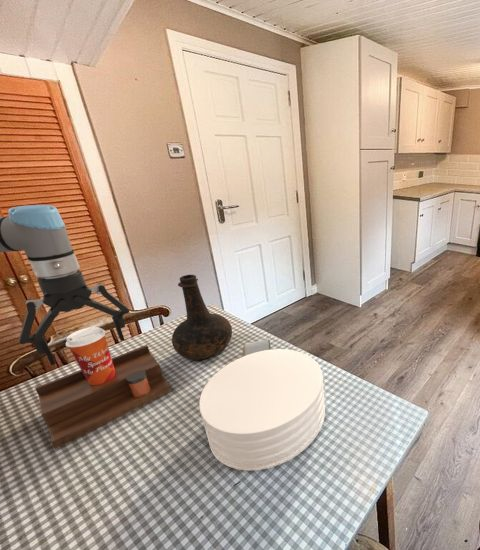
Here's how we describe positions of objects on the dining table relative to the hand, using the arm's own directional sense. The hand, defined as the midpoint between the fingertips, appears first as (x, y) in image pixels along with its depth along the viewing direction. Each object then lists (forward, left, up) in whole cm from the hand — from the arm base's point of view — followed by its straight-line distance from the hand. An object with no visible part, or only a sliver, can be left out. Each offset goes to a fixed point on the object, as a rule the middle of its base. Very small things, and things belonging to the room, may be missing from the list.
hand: (89, 349), depth 78 cm
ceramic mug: (+37, +15, -16) cm, 43 cm away
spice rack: (+3, -2, -16) cm, 16 cm away
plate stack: (+47, -6, -16) cm, 50 cm away
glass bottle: (+16, +22, -16) cm, 32 cm away
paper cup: (0, 0, -9) cm, 9 cm away
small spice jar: (+10, 0, -13) cm, 17 cm away
